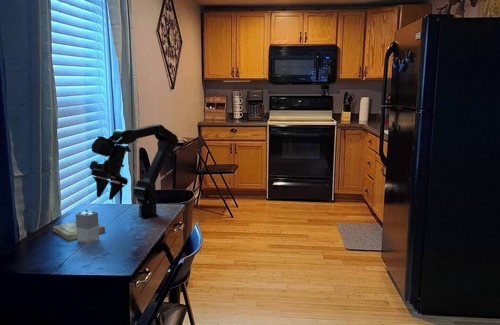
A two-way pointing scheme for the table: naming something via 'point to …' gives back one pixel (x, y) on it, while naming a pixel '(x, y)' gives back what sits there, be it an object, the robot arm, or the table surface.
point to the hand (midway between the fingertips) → (104, 198)
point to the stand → (71, 230)
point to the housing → (87, 226)
